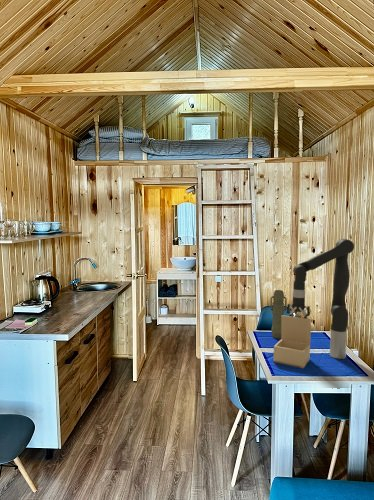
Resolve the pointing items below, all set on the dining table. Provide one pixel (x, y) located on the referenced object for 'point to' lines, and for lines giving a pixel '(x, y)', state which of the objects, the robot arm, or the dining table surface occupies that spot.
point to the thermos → (277, 312)
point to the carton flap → (296, 329)
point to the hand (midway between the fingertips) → (298, 321)
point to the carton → (292, 353)
